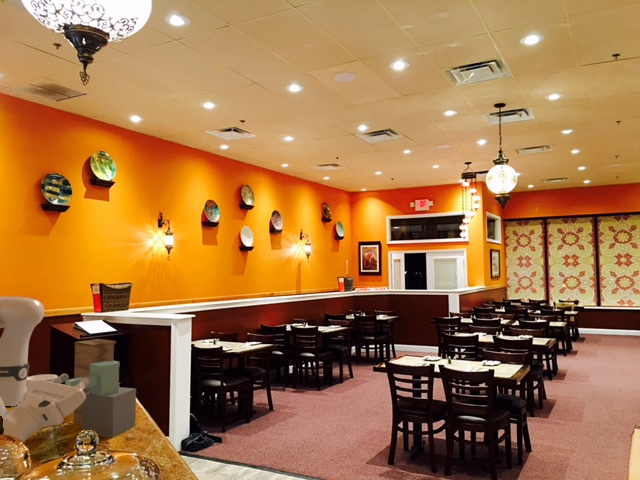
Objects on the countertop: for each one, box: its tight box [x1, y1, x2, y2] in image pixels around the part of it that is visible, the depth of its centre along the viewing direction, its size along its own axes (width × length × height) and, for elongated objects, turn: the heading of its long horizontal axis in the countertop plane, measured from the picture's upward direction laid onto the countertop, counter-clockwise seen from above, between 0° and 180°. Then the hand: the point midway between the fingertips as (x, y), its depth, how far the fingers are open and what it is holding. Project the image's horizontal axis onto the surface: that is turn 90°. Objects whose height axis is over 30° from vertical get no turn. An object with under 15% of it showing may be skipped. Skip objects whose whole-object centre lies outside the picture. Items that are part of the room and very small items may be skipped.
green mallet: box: [64, 360, 121, 396], centre depth 160 cm, size 17×6×9 cm, turn 148°
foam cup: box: [26, 373, 58, 391], centre depth 179 cm, size 10×9×13 cm
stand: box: [72, 338, 117, 426], centre depth 174 cm, size 9×10×26 cm
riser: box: [81, 386, 137, 439], centre depth 165 cm, size 11×11×12 cm
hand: (76, 377), depth 155 cm, fingers open, 8 cm apart
